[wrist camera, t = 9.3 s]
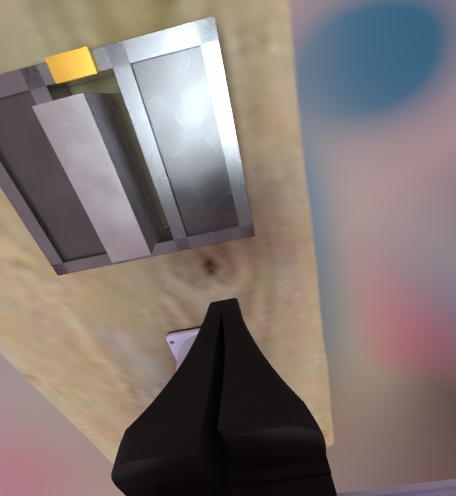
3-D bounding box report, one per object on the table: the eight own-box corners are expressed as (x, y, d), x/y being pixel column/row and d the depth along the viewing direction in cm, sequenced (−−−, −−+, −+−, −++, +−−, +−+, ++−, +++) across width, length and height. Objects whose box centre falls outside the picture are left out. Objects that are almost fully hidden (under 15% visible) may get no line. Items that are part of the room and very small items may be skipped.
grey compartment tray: (251, 222, 22) (255, 238, 20) (72, 259, 24) (55, 278, 21) (214, 25, 16) (213, 11, 13) (-27, 90, 17) (-70, 89, 15)
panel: (167, 217, 22) (151, 254, 17) (137, 224, 22) (112, 262, 17) (123, 94, 18) (83, 92, 12) (86, 104, 18) (31, 106, 13)
